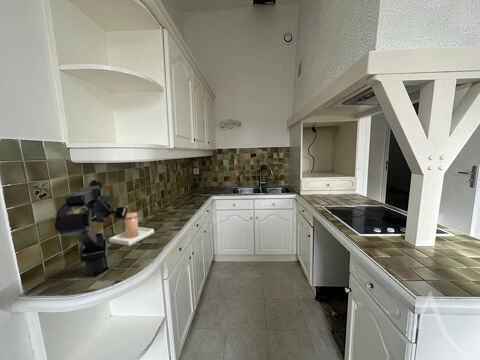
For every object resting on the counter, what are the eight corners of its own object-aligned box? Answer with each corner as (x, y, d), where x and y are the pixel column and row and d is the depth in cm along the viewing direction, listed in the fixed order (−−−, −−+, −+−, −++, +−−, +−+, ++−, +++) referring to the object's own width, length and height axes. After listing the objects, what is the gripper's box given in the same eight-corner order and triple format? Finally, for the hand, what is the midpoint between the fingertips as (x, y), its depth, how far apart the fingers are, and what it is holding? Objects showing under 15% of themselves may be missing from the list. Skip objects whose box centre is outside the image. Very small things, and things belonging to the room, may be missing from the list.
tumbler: (136, 237, 116) (134, 214, 114) (123, 238, 115) (121, 215, 114) (140, 233, 122) (138, 211, 121) (129, 234, 122) (127, 212, 120)
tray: (129, 245, 108) (128, 241, 108) (109, 242, 113) (109, 238, 112) (154, 233, 125) (153, 229, 124) (136, 230, 130) (135, 226, 129)
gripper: (124, 190, 99) (136, 206, 111) (82, 192, 97) (99, 208, 110) (117, 211, 92) (131, 226, 104) (73, 213, 91) (92, 228, 103)
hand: (113, 221), depth 106 cm, fingers open, 9 cm apart
